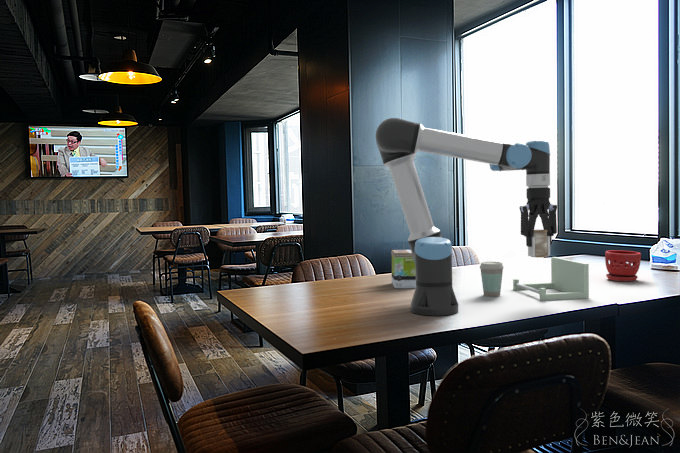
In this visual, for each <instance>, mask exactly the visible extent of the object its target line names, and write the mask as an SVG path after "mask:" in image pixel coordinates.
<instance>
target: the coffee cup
mask: <svg viewBox="0 0 680 453" xmlns="http://www.w3.org/2000/svg"><path fill="white" fill-rule="evenodd" d="M479 269H480V276H481V282H482V284H481V285H482V290H483V291H482V292H483V296H485V297H491V298H492V297H493V298H494V297H500V296H501V290H502V280H503V272H504V271H503V270H504V265H503V262H500V261H482V262H480V265H479Z"/></svg>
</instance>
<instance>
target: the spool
mask: <svg viewBox="0 0 680 453" xmlns="http://www.w3.org/2000/svg"><path fill="white" fill-rule="evenodd" d="M532 237H535V257H534V258H548V257H549V256H548V255H547V230H544V229H534V232H533V236H532ZM530 257H532V256H530ZM532 258H533V257H532Z"/></svg>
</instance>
